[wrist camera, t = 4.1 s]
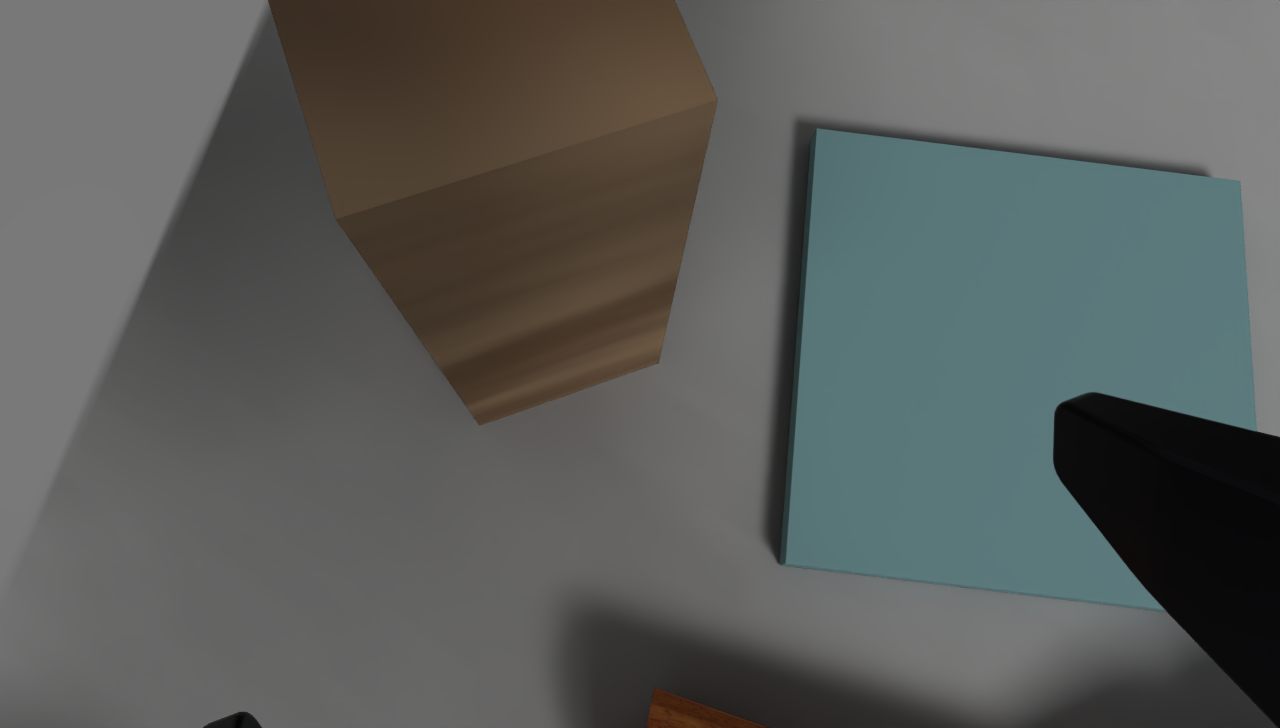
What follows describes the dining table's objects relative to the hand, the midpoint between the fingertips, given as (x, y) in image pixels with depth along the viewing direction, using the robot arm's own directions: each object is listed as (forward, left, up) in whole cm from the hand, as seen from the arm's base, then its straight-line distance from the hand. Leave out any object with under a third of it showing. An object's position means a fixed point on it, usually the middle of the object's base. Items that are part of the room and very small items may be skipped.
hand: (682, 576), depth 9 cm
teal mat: (+7, -10, -13) cm, 18 cm away
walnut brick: (+7, +3, -13) cm, 16 cm away
